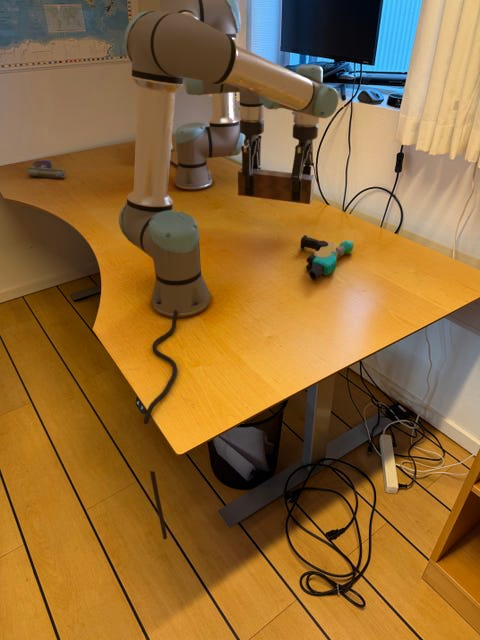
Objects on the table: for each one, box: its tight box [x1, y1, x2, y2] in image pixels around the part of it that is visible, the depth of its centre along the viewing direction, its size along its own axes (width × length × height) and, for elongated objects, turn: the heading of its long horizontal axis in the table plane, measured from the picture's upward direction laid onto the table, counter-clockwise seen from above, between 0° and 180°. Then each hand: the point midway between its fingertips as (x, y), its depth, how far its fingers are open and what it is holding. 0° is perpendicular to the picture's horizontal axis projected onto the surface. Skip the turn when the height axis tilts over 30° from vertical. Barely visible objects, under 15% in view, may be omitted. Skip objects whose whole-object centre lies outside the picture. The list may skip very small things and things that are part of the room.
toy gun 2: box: [299, 234, 355, 282], centre depth 140 cm, size 4×26×15 cm
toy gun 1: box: [26, 159, 67, 179], centre depth 208 cm, size 4×19×15 cm
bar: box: [237, 167, 315, 205], centre depth 156 cm, size 24×4×8 cm, turn 71°
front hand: (300, 193), depth 154 cm, fingers open, 13 cm apart
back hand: (251, 192), depth 160 cm, fingers closed on bar, 4 cm apart
